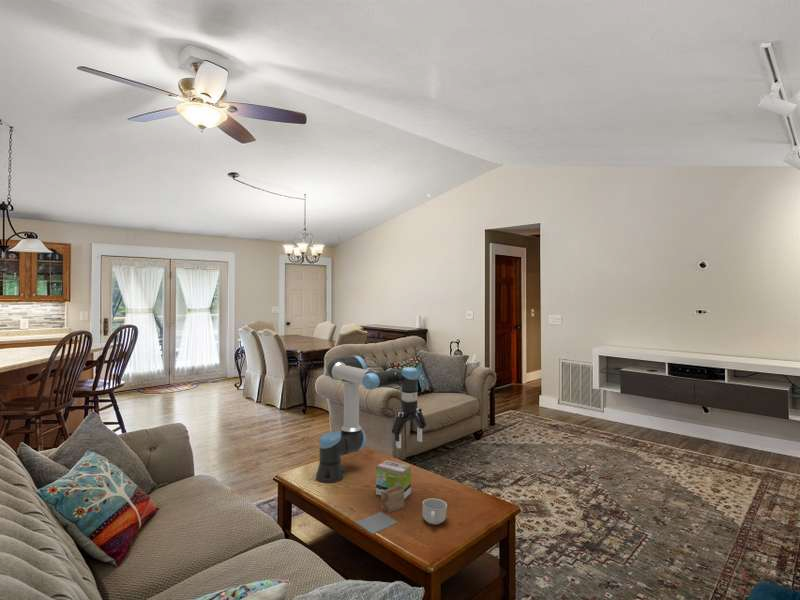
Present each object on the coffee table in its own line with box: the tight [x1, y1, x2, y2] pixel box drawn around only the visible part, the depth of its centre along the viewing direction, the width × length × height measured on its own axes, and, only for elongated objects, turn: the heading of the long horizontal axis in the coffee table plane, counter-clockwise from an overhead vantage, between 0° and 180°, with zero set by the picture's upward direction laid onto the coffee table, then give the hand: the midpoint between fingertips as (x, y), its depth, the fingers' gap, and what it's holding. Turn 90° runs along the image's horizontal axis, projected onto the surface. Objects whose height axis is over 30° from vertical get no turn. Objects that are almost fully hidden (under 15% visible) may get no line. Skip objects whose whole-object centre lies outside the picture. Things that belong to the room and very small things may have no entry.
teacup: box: [422, 497, 448, 526], centre depth 191 cm, size 14×11×8 cm
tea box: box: [375, 459, 412, 500], centre depth 218 cm, size 15×10×15 cm, turn 62°
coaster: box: [355, 511, 399, 535], centre depth 191 cm, size 12×14×1 cm
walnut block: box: [380, 486, 405, 514], centre depth 204 cm, size 6×9×8 cm, turn 131°
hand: (409, 444), depth 209 cm, fingers open, 13 cm apart
